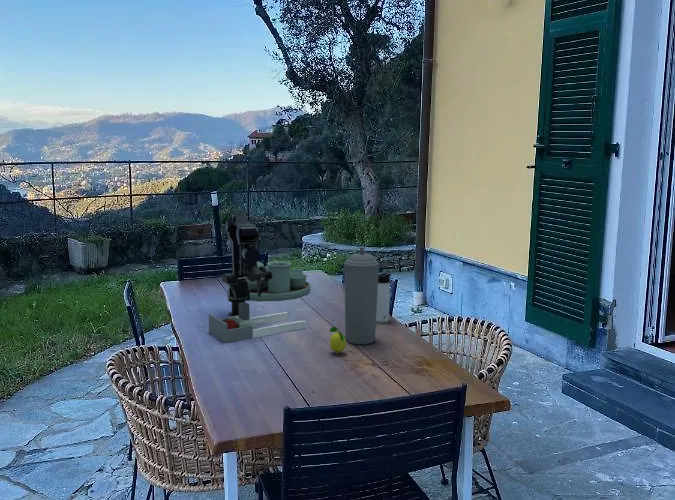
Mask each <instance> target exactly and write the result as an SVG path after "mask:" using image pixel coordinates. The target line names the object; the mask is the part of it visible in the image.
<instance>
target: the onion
mask: <svg viewBox="0 0 675 500" xmlns="http://www.w3.org/2000/svg"><path fill="white" fill-rule="evenodd" d="M224 322H225V323H227V326H228V330H229V329H235V328H238V327H239V324H238V323H237V322H235V321H234V320H231V319H229V320H226V321H224Z"/></svg>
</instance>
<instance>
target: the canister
mask: <svg viewBox="0 0 675 500" xmlns="http://www.w3.org/2000/svg"><path fill="white" fill-rule="evenodd" d="M358 249H359V252H357V253H353V254H351V255H350V256H349V257H348V258H347V260H346V261H344V264H343V266H344V309H345V310H344V320H345V321H344V325H345V326H344V327H345V328H344V329H345V335H344V337H345V340H346V343H350V344H354V345H369V344H372V343H373V342H375V340H376V328H377V327H376V326H377V325H376V324H377V323H376V313H377V294H378V274H379V270H380V263H379V262H378V261H377V259H376V258H375V257H374V256H373V255H372V254H370V253H366V252H364V250H365V249H366V247H365V246H359V247H358Z"/></svg>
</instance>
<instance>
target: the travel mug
mask: <svg viewBox="0 0 675 500" xmlns="http://www.w3.org/2000/svg"><path fill="white" fill-rule="evenodd" d="M391 277H392V274H391V273H380V274H379V273H378V294H377V313H376V324H381V325H382V324H388V323H389V321H390V298H391V297H390V293H391V292H390V291H391V287H390V285H391Z"/></svg>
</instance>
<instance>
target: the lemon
mask: <svg viewBox="0 0 675 500" xmlns="http://www.w3.org/2000/svg"><path fill="white" fill-rule="evenodd" d="M339 326H340V325H337V327H336V326H331V328H330V329H329V332H331V333H333V334H332V335H331V337H330V339H329V347H330V349H331V350H332V351H333V352H335V353H336V354H338V355H339V354H340V353H341V352H343V351H344V350H345V349H346V346H347V341H346V338H345V335H344V334H343V333H342V332H340V330H339V329H338V328H340V327H339Z"/></svg>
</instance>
